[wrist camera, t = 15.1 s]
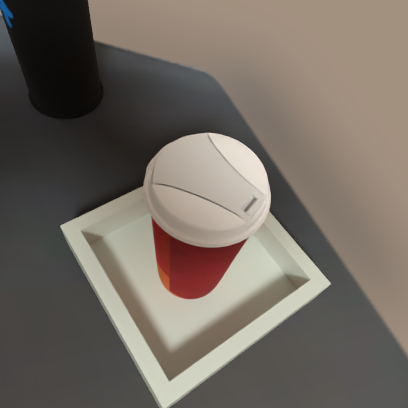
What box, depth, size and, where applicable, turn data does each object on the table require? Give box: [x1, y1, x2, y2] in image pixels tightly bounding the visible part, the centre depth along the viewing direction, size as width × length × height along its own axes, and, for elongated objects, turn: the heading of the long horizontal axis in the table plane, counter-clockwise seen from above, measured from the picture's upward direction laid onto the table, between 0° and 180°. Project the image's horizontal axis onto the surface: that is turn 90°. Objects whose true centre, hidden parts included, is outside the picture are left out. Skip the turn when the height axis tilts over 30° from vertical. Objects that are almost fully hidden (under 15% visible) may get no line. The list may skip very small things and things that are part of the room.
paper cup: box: [143, 133, 271, 299], centre depth 28 cm, size 8×8×14 cm
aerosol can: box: [0, 0, 103, 118], centre depth 36 cm, size 8×8×20 cm
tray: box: [60, 186, 331, 408], centre depth 33 cm, size 16×16×4 cm
